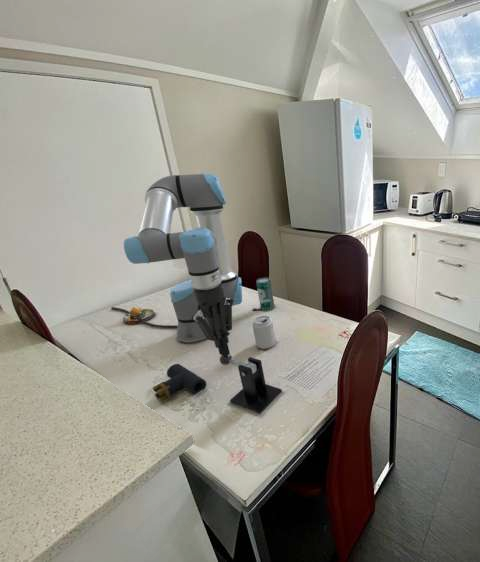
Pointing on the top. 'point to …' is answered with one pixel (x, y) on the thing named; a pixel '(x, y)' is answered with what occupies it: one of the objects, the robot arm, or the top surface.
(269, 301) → the can
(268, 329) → the can
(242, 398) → the bracket
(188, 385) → the pipe connector
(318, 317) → the top surface
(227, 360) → the tap lever
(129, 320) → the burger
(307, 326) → the top surface
